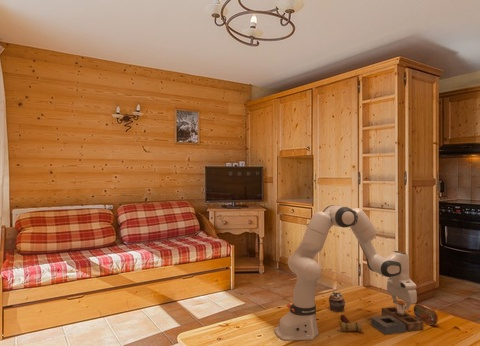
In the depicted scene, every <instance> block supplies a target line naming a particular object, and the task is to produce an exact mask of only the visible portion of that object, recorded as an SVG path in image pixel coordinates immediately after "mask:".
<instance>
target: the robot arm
mask: <svg viewBox="0 0 480 346" xmlns="http://www.w3.org/2000/svg"><path fill="white" fill-rule="evenodd" d="M333 226H334V227H340V228H349V229H350V230H351V231H352V232H353V233H352V234H354V236H355V238H356V240H357V242H358V243H359V246H360V248H361V250H362V251H363V254H364V256H365V260H366V264H367V268H368V269H369V270H370V271H372V272H374V273H377V274H379V275H380V276H383V277H385V278H387V283H386V292H387V294H389V295H390V294H391V299H392V303H394V304H395V305H397V301H399V300H398V299H400V301H404V302H405V311H406V310H407V311H409V310H410V307H411V305H413V304H415V305H416V303H417V301H418V295H417V284H416V283H415V282H414V281H413V280H412V279H411V278H410V273H409V272H410V259H409V255H408V254H407V253H406V252H404V251H399V250H393V251H392V253H390V254H389V255H387V256H382V255H381V254H380V253H378V252H377V251H376V249H375V247H374V245H373V243H372V241H373V240H374V239H375V238H376V235H377V230H376V227H375V226H374V224H373V222H372V221H371V219H370V218H369V216H368V215H367V214H366V213H365V211H364V210H363V209H361V208H359V207H353V208H350V207H348V206H343V205H339V204H338V205H337V204H336V205H335V204H332V205H328V206H326V207H325V208H324V209H323V211H321V210H320V211H318V210H317V211H316V212H315V213H314V214H313V216H312V217H311V218H310V220H309V222H308V224H307V226H306V229H305V232H304V234H303V237H302V239H301V242H300V244H299V245H298V247H297V248H296V249H295V251H294V252H293V253H292V254H290V255H289V257H288V259H287V265H288V268H289V269H290V271H291V272H292V273H294V274H295V275H296V283H295V286H294V287H293V289H292V291H293V292H292V294H293V297H292V300H293V302H292V304H291V303H287V304H286V307H287V308H288V309H289V311H288V312H286V313H285V314H284V315H283V316H281V318H280V319H279V322H278V326H276V327H275V326H274V333H276V334H277V335H276V334H275V335H276V336H277V337H278V338H279V339H280V340H282V341H310V340H311V341H313V340H314V339H315V338H316V337H317V336H318V335H319V329H318V325H317V324H318V323H317V317H316V315H317V306H316V288H317V287H316V286H317V282H318V280H319V279H320V278H321V277H322V268H321V266H320V265H319V263H318V262H317V261H315V260H314V259H315V257H316V256H317V255H318V253H320V252H322V250H323V249H324V245H325V243H326V240H327V237H328V234H329V232H330V230H331V228H332V227H333ZM397 298H398V299H397Z"/></svg>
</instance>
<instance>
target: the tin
mask: <svg viewBox="0 0 480 346" xmlns="http://www.w3.org/2000/svg"><path fill="white" fill-rule="evenodd" d="M413 314H414V317H415V318H417V319H418V320H420V321H422V322H423V324H426V325H428V326H434V325H437V324H438V319H439V318H438V314H437V312H436V311H435V310H434V309H432V308H431V307H428V306H426V305H425V304H421V303H419V304H416V303H415V305H414V307H413Z"/></svg>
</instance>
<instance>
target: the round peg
mask: <svg viewBox="0 0 480 346" xmlns="http://www.w3.org/2000/svg"><path fill="white" fill-rule="evenodd" d="M405 306H406V302H405V301H403V300H398V301H397V304H396V307H397V316H399V317H405V312H406V309H405Z"/></svg>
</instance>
